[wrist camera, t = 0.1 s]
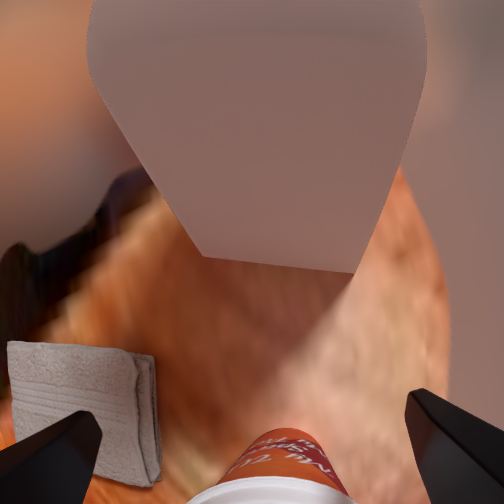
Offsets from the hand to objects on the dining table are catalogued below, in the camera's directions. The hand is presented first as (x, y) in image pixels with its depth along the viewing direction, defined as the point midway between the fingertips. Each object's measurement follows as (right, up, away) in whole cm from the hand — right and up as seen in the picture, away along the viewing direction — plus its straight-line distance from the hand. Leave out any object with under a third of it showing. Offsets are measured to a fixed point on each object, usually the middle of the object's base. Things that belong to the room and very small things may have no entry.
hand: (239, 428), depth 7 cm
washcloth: (-15, -10, +16) cm, 24 cm away
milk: (+3, +9, +19) cm, 21 cm away
